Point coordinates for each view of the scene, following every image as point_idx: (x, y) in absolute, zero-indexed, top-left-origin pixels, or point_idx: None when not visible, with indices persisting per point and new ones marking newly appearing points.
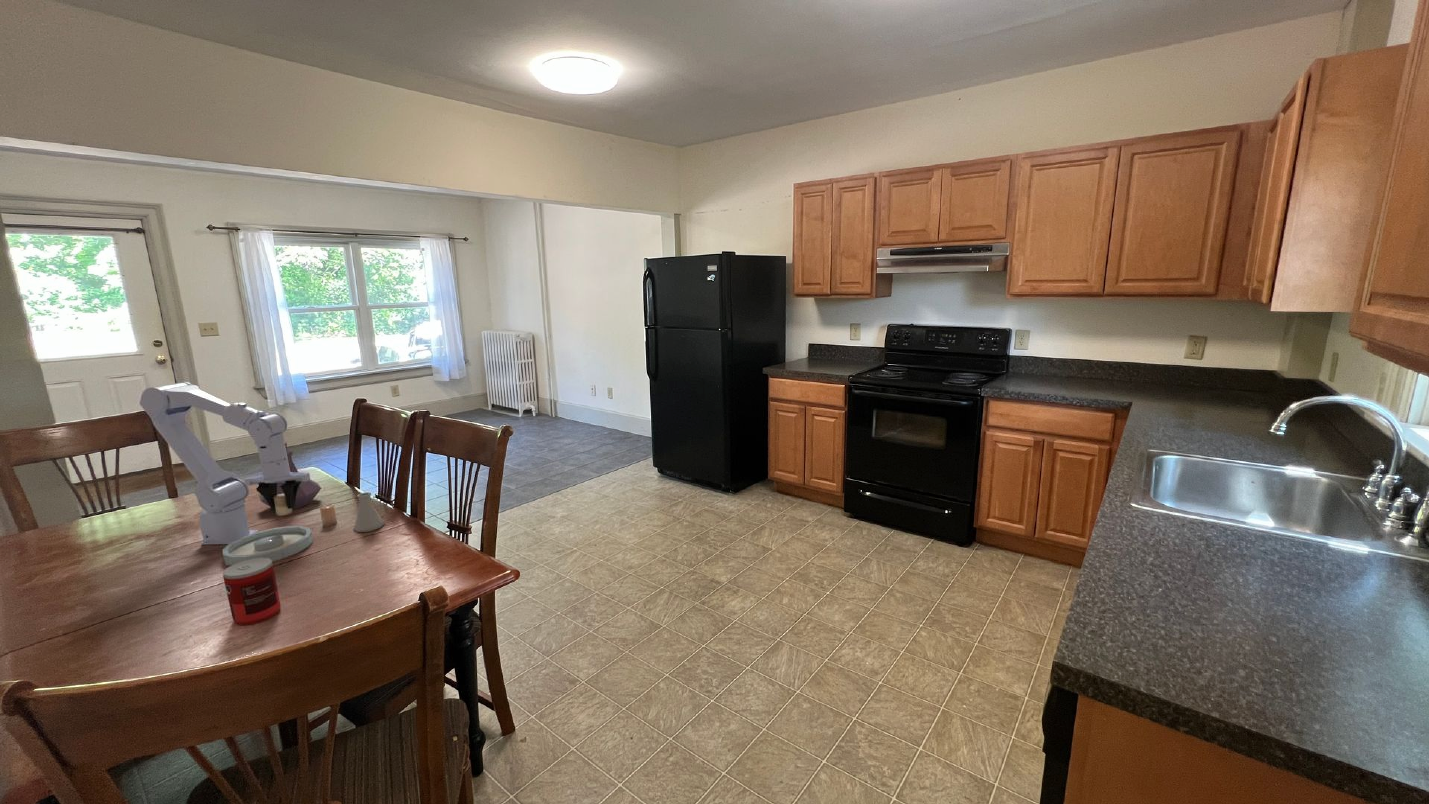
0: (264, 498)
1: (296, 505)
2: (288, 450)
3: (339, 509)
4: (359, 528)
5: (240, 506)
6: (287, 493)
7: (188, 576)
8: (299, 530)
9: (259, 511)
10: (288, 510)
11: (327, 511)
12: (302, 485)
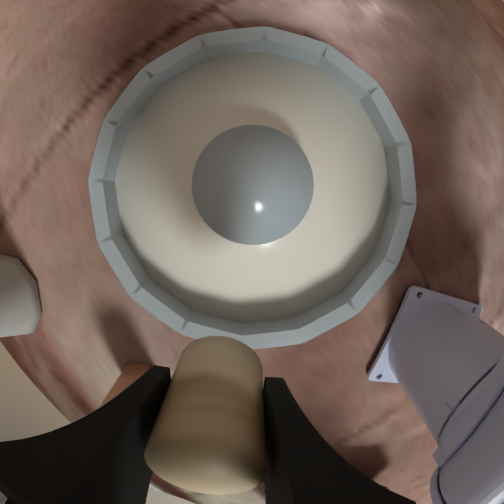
0: None
1: None
2: None
3: None
4: (10, 264)
5: (452, 417)
6: (80, 438)
7: (418, 55)
8: (181, 309)
9: (388, 469)
10: (177, 364)
11: (109, 397)
12: None
